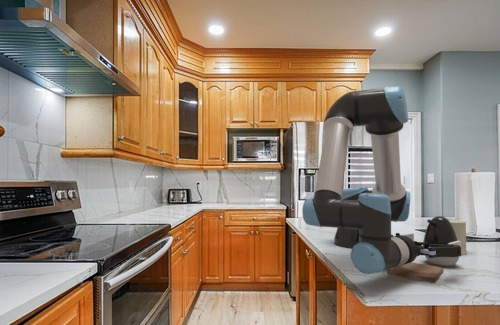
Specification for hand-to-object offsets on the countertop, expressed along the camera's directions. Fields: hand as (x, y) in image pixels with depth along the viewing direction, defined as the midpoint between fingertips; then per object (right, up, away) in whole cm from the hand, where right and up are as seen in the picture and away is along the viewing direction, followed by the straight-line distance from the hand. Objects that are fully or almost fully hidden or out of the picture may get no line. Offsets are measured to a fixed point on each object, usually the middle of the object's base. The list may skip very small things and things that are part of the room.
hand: (434, 241), depth 93 cm
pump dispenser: (+4, -8, +3) cm, 9 cm away
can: (+18, -9, +18) cm, 27 cm away
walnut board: (-9, -8, -6) cm, 13 cm away
